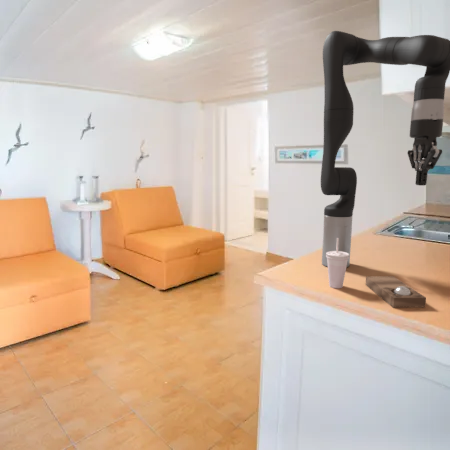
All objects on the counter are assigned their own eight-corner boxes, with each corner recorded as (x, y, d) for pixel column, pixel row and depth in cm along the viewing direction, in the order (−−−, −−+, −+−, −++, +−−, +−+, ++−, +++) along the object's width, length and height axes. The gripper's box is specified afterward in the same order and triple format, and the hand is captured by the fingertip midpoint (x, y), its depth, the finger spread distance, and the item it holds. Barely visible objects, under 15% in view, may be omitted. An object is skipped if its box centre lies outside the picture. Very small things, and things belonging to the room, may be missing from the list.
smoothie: (343, 282, 110) (345, 236, 108) (350, 289, 104) (353, 240, 102) (321, 282, 110) (323, 236, 108) (328, 290, 104) (330, 241, 101)
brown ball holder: (365, 284, 108) (366, 276, 108) (392, 284, 109) (393, 276, 108) (393, 307, 92) (393, 297, 91) (425, 307, 92) (426, 297, 91)
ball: (391, 283, 96) (399, 290, 93) (407, 283, 97) (415, 290, 93) (389, 297, 98) (397, 305, 94) (404, 297, 98) (412, 304, 94)
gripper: (400, 121, 104) (395, 183, 107) (426, 116, 91) (420, 187, 94) (426, 121, 104) (421, 183, 107) (457, 116, 91) (449, 187, 94)
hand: (420, 185), depth 101 cm, fingers closed
